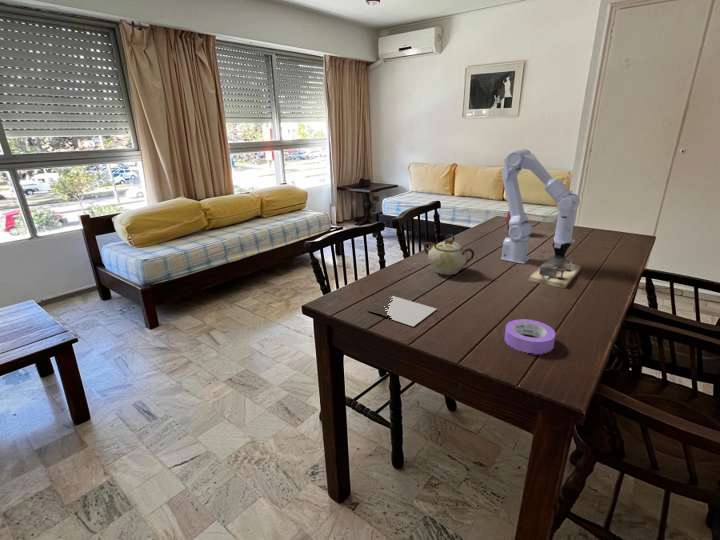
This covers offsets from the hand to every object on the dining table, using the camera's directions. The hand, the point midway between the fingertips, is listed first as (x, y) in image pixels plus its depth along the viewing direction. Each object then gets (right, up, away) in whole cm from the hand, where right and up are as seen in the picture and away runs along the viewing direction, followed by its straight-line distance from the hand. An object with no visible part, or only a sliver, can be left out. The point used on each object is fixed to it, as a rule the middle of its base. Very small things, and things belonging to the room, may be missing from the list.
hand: (558, 261), depth 146 cm
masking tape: (-33, -22, -48) cm, 62 cm away
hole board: (-4, -5, -5) cm, 8 cm away
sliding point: (-1, -2, -3) cm, 3 cm away
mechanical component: (+3, +15, +49) cm, 52 cm away
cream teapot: (-43, -4, +1) cm, 43 cm away
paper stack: (-58, -16, -28) cm, 66 cm away
